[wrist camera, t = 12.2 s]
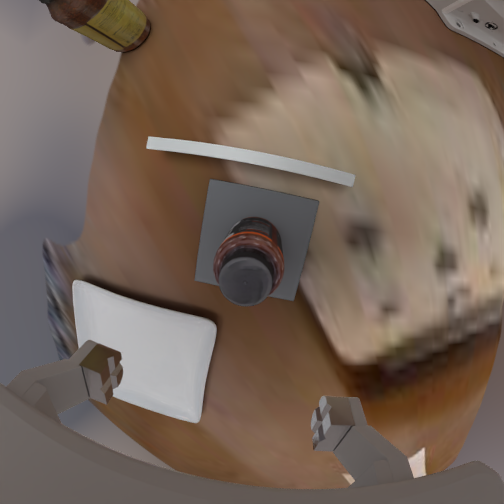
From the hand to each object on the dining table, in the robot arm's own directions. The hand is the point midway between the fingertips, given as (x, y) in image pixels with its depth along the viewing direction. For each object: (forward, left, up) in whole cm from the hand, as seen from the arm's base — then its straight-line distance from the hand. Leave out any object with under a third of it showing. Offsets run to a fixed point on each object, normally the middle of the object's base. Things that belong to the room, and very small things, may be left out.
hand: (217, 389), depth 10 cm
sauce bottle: (+21, -24, -23) cm, 39 cm away
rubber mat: (0, 0, -23) cm, 23 cm away
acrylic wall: (+2, -9, -23) cm, 25 cm away
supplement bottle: (0, 0, -22) cm, 23 cm away
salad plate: (+13, +20, -24) cm, 33 cm away
